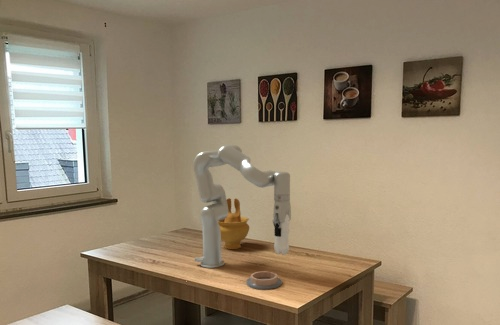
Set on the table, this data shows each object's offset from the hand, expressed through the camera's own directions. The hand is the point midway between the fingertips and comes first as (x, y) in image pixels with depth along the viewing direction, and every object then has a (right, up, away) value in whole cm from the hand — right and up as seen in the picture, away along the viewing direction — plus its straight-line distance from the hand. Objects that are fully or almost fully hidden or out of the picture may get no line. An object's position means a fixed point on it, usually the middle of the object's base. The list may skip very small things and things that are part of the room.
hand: (281, 234), depth 191 cm
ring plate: (-9, -20, -10) cm, 24 cm away
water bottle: (0, -10, +1) cm, 10 cm away
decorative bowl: (-26, -18, +55) cm, 64 cm away
